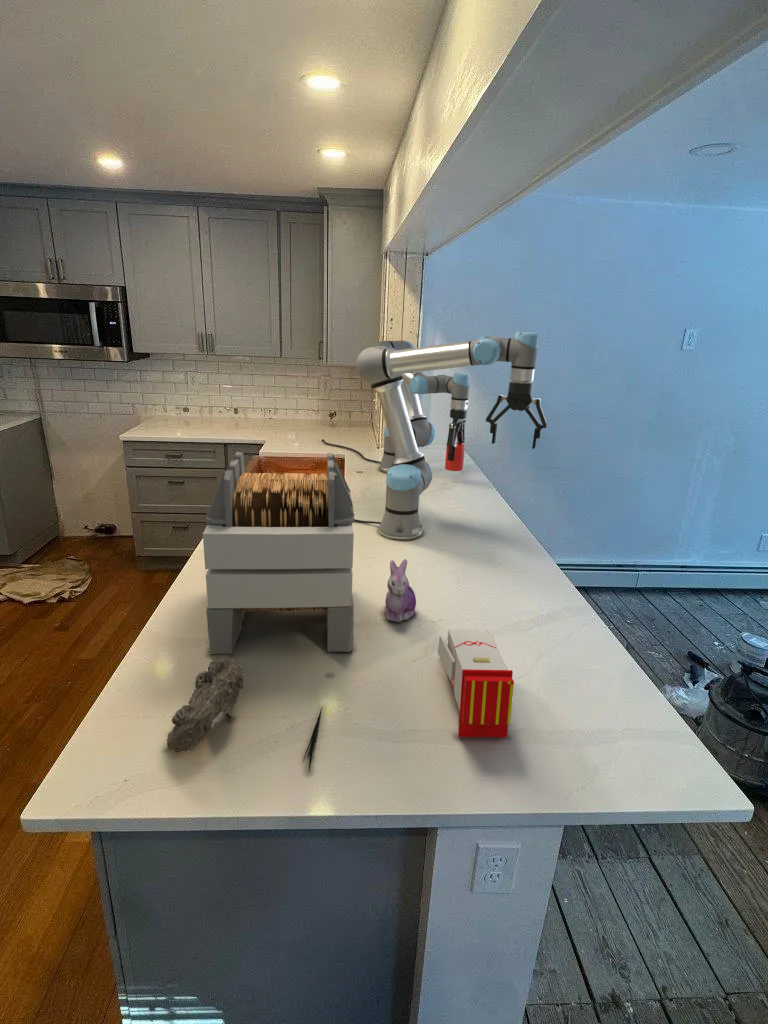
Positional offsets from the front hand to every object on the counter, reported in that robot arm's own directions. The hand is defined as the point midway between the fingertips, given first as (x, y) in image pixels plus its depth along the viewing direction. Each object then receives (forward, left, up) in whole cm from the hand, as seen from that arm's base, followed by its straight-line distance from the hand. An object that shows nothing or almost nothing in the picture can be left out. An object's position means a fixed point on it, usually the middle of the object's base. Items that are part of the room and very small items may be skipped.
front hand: (513, 445), depth 192 cm
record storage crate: (+3, -92, -33) cm, 98 cm away
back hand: (-56, +34, -22) cm, 69 cm away
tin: (-56, +34, -26) cm, 71 cm away
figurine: (+20, -68, -33) cm, 78 cm away
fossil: (+27, -122, -33) cm, 130 cm away
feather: (+40, -107, -33) cm, 119 cm away
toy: (+52, -77, -33) cm, 99 cm away
